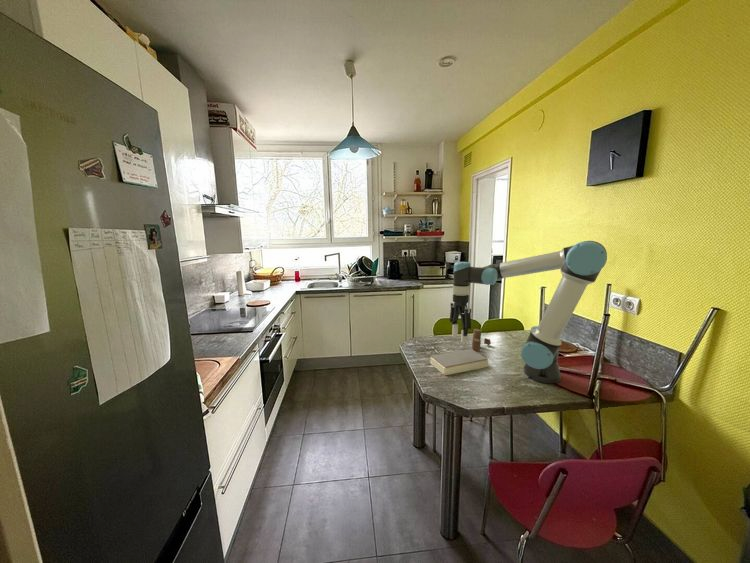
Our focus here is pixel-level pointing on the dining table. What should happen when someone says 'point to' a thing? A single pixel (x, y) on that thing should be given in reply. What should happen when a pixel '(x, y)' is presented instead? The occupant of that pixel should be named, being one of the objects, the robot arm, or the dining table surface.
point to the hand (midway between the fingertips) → (459, 339)
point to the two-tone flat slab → (458, 361)
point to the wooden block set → (478, 340)
